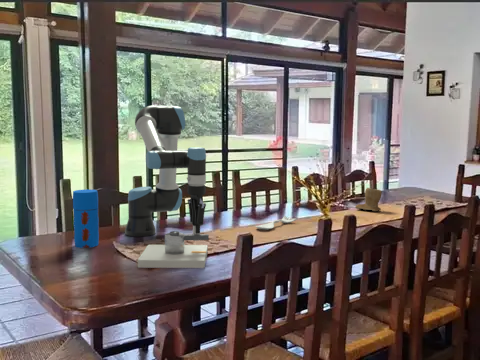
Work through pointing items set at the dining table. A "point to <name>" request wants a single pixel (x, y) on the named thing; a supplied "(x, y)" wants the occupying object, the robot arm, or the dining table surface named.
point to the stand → (173, 257)
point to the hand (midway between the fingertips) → (196, 240)
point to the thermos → (86, 218)
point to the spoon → (271, 225)
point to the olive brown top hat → (371, 200)
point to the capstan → (180, 241)
